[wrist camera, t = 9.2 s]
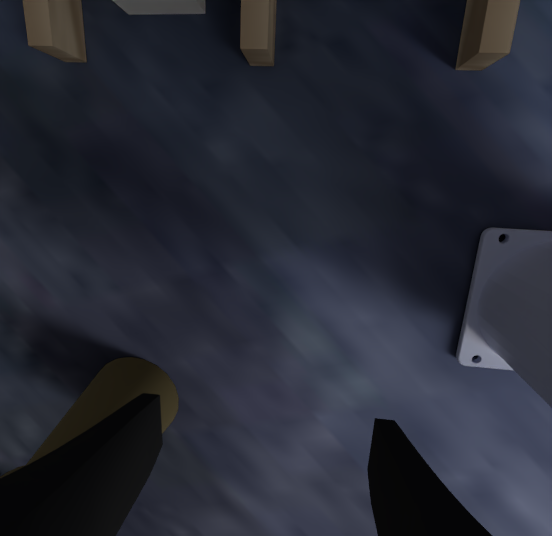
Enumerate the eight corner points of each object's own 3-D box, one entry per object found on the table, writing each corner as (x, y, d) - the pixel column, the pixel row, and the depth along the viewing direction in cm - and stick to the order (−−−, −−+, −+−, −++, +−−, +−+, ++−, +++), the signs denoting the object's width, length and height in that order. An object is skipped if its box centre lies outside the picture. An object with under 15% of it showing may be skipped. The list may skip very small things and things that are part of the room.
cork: (79, 370, 24) (-109, 527, 13) (155, 346, 23) (16, 499, 12) (118, 441, 25) (-26, 637, 14) (192, 422, 24) (96, 621, 13)
